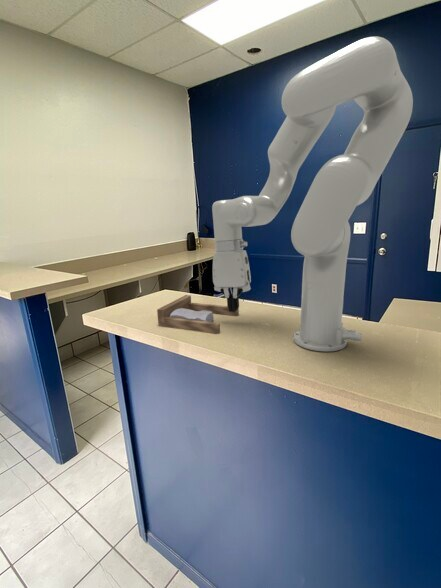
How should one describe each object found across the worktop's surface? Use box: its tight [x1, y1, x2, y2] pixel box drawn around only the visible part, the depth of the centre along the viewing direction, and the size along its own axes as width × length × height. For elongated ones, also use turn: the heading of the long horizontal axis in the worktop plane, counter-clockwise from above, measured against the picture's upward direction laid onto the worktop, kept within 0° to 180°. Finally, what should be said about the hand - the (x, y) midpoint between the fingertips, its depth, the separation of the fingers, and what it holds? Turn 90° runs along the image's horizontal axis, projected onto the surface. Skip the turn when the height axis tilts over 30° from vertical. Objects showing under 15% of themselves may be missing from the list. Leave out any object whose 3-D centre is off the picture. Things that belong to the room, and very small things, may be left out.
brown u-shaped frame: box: [156, 294, 240, 334], centre depth 94 cm, size 19×17×5 cm
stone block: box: [170, 308, 214, 322], centre depth 93 cm, size 12×5×10 cm
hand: (233, 310), depth 89 cm, fingers closed
